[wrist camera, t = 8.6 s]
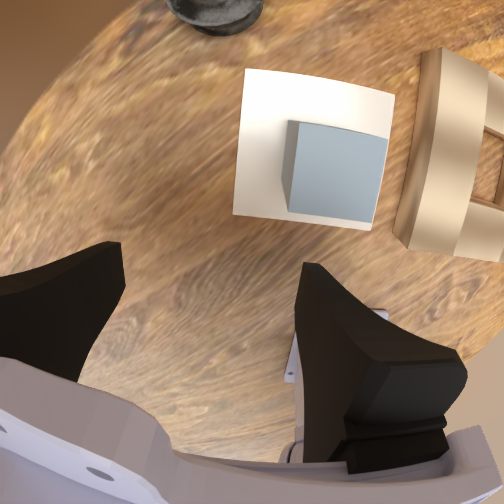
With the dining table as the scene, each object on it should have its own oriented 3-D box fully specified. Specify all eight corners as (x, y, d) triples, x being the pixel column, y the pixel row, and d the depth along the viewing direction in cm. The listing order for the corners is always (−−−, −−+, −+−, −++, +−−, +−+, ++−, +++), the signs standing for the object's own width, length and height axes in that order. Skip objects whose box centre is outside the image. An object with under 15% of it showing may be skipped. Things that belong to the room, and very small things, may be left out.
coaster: (368, 228, 21) (370, 230, 21) (233, 212, 21) (232, 214, 21) (392, 95, 17) (395, 95, 17) (246, 69, 17) (245, 68, 17)
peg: (339, 186, 20) (371, 223, 13) (281, 178, 20) (288, 212, 13) (348, 129, 18) (388, 139, 12) (287, 119, 18) (299, 122, 12)
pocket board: (506, 251, 21) (523, 266, 19) (392, 232, 21) (407, 249, 19) (536, 113, 15) (558, 118, 12) (421, 52, 15) (442, 47, 12)
